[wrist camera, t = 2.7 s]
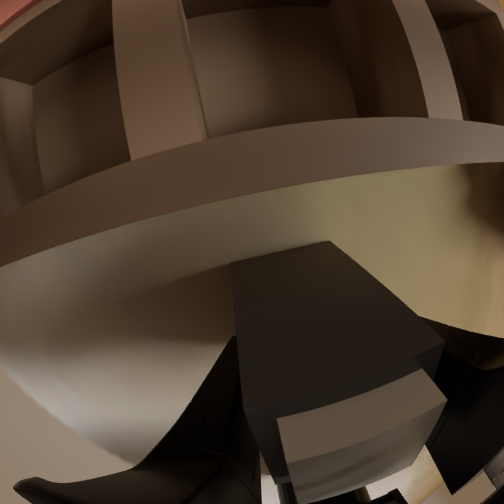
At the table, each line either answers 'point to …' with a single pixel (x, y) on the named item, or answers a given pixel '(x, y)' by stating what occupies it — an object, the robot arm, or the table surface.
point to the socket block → (229, 102)
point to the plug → (332, 370)
